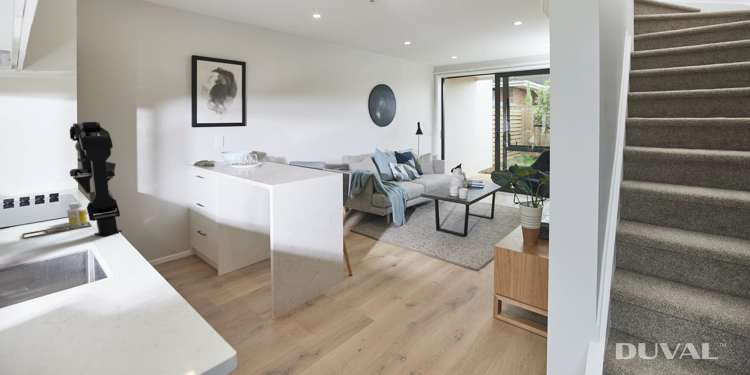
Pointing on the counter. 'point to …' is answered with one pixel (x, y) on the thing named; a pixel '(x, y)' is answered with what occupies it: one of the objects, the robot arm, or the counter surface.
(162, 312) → the counter surface
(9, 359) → the counter surface
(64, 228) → the board
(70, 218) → the supplement bottle
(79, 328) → the counter surface
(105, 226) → the robot arm
